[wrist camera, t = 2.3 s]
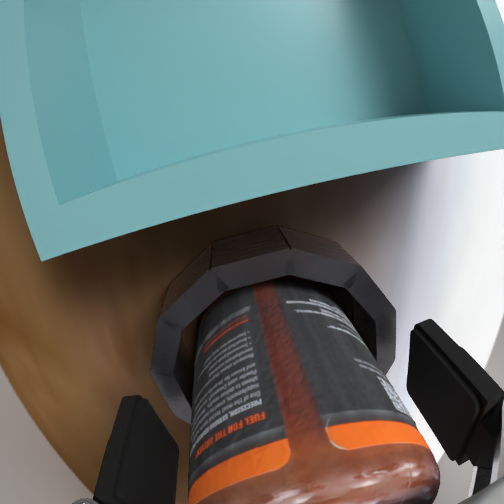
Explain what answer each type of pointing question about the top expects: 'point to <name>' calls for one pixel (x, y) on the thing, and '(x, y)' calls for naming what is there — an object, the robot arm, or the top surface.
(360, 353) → the supplement bottle
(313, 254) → the collar
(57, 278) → the top surface
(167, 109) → the bin
